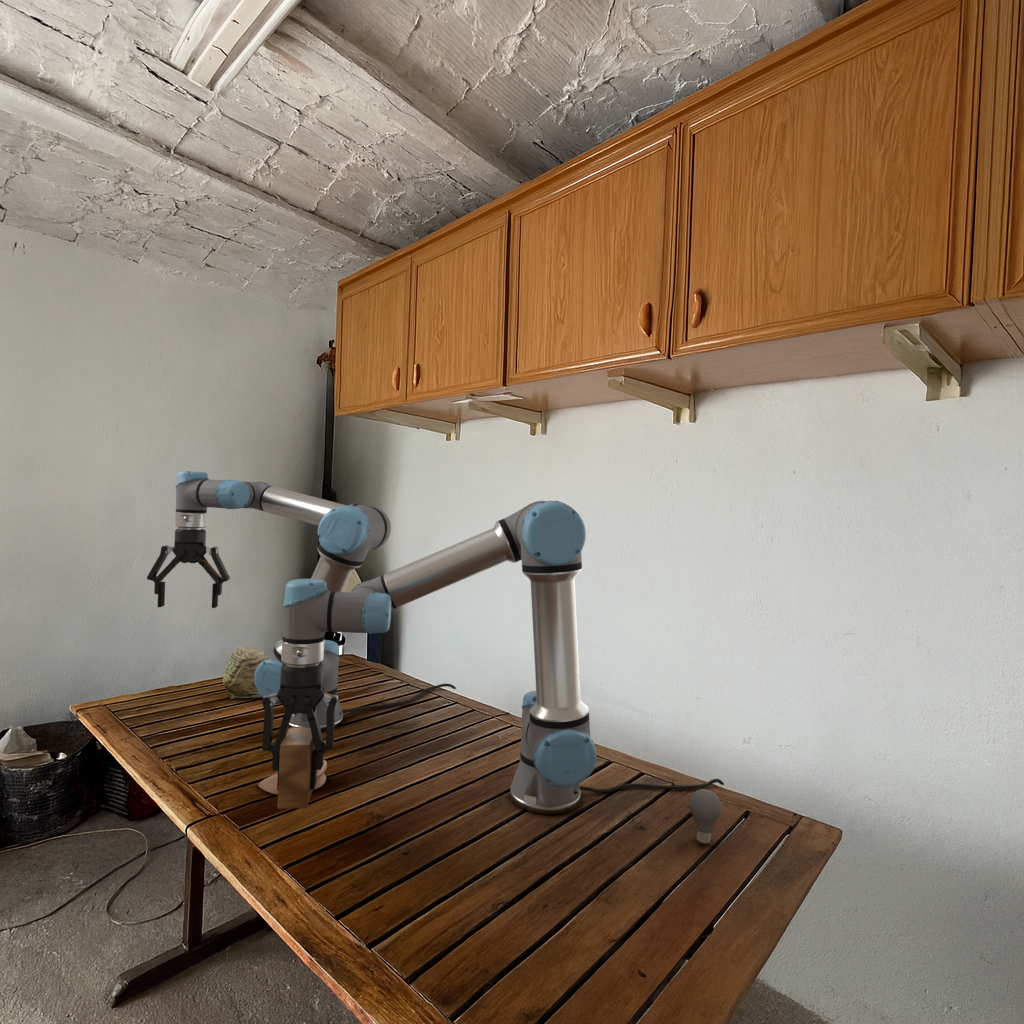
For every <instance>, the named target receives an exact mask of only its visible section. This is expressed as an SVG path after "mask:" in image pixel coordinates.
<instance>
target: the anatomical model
mask: <svg viewBox="0 0 1024 1024" xmlns="http://www.w3.org/2000/svg"><path fill="white" fill-rule="evenodd" d="M327 768H328V763H327V760H325V759H323V766H322V768H321V770H317V778H316V785H315V788H314V789H313V791H315V790H317V789H319V788H320V787H322V786H323V785H324V784H325V783H326V780H327V776H326V774H325V772H326V770H327ZM277 781H278V772H277V773H275V774H273V775H270V776H267V777H266V778H264V779H263V780H261V781H260V782H259V783H258V784H257V786H258V787H259V788H260V789H261V790H263V791H264V792H267V793H269V794H271V795H278V790H277Z"/></svg>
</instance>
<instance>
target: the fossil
mask: <svg viewBox="0 0 1024 1024" xmlns="http://www.w3.org/2000/svg"><path fill="white" fill-rule="evenodd" d="M269 658H270V656H269V655H268V654H267V653H266V652H265V650H264V649H263V648H260V647H258V648H251V647H247V646H246V647H245V646H238V647H237V648H236V649H235V650H233V651H232V653H231V656H230V657H229V659H228V660H227V663H226V666H225V668H224V671H223V675H222V676H223V677H222V685H223V687H224V688H225V690H226V691H228V693H229V698H230V699H250V698H262V697H261V695H260V694H259V693H258V691H257V687H256V686H255V681H254V676H255V671H256V669H257V667H258V666H259V665H260V664H261V663H262V662H263V661H265V660H267V659H269Z"/></svg>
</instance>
